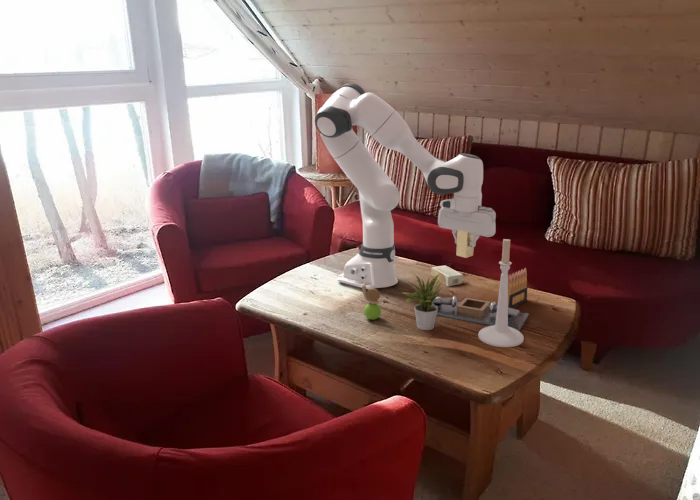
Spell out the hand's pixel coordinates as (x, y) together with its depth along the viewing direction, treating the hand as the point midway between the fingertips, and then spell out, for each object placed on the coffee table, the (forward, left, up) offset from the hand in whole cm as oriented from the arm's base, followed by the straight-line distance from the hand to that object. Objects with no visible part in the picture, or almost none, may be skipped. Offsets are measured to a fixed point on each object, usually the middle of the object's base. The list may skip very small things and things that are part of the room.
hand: (464, 244), depth 192 cm
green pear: (-20, -29, -20) cm, 40 cm away
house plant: (-3, -26, -20) cm, 32 cm away
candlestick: (+20, -24, -20) cm, 37 cm away
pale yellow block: (0, 0, -4) cm, 4 cm away
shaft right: (+17, -12, -18) cm, 28 cm away
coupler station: (+7, -11, -19) cm, 23 cm away
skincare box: (-6, +10, -17) cm, 21 cm away
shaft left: (-3, -13, -18) cm, 22 cm away
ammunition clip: (+17, +3, -20) cm, 26 cm away
